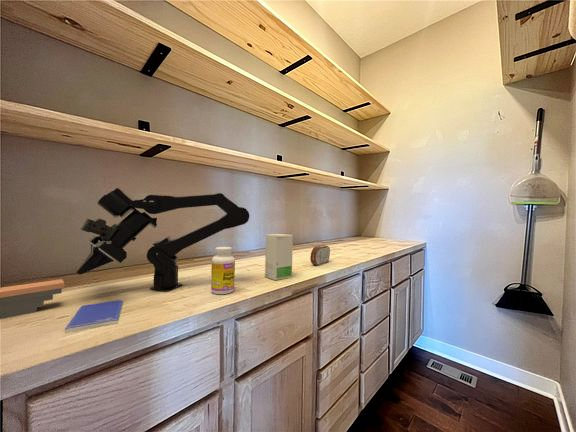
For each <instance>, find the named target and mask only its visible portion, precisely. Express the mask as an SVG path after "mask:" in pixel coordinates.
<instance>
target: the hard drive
mask: <svg viewBox="0 0 576 432" xmlns="http://www.w3.org/2000/svg"><path fill="white" fill-rule="evenodd" d="M123 305H124V301H123V300H120V299H119V300H114V301H106V302H99V303H91V304H84V305H81V306H80V307H79V309H78V310H77V311H76V313H75V315H73V317H72V318H71V320H70V321H69V323H68V324H67V325H66V327H65V328H64V334H69V333H74V332H79V331H80V332H81V331H86V330H89V329H97V328H102V327H108V326H112V325H113V326H114V325H118V323H119V320H120V317H121V316H120V315H121V313H122V312H121V311H122V309H123Z"/></svg>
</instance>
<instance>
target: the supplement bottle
mask: <svg viewBox="0 0 576 432" xmlns="http://www.w3.org/2000/svg"><path fill="white" fill-rule="evenodd" d="M232 249H233V247H231V246H217V247H215V249H214V252H215V255H214V256H213V257H212V258H211V268H210V269H211V275H210V278H211V280H210V291H211V293H213V294H215V295H228V294H231V293H233V292H234V291H235V281H236V280H235V279H236V278H235V277H236V276H235V275H236V274H235V273H236V272H235V270H236V269H235V267H236V259H235V256H233V255H232V252H233V250H232Z"/></svg>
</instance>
